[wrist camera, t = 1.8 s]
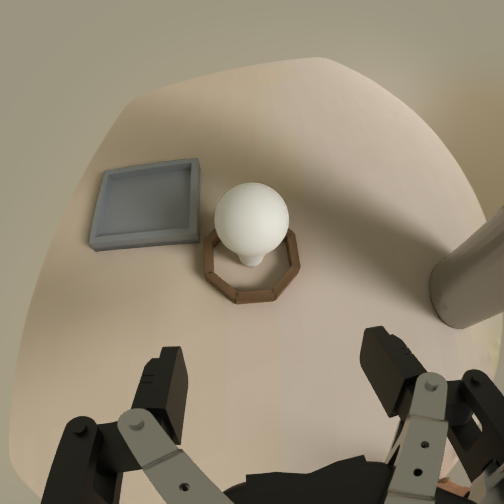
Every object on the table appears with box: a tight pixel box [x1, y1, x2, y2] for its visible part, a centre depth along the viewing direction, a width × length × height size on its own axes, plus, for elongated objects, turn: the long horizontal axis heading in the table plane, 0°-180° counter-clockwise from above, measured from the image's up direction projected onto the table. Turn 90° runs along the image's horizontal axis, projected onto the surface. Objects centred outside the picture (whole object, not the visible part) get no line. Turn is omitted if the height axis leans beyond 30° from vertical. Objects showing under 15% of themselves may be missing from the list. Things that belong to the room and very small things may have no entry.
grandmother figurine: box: [437, 478, 470, 499], centre depth 13 cm, size 8×4×13 cm, turn 82°
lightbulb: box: [214, 183, 289, 267], centre depth 26 cm, size 6×6×11 cm
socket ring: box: [204, 228, 300, 304], centre depth 30 cm, size 10×10×2 cm
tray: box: [88, 158, 200, 251], centre depth 33 cm, size 13×11×2 cm
